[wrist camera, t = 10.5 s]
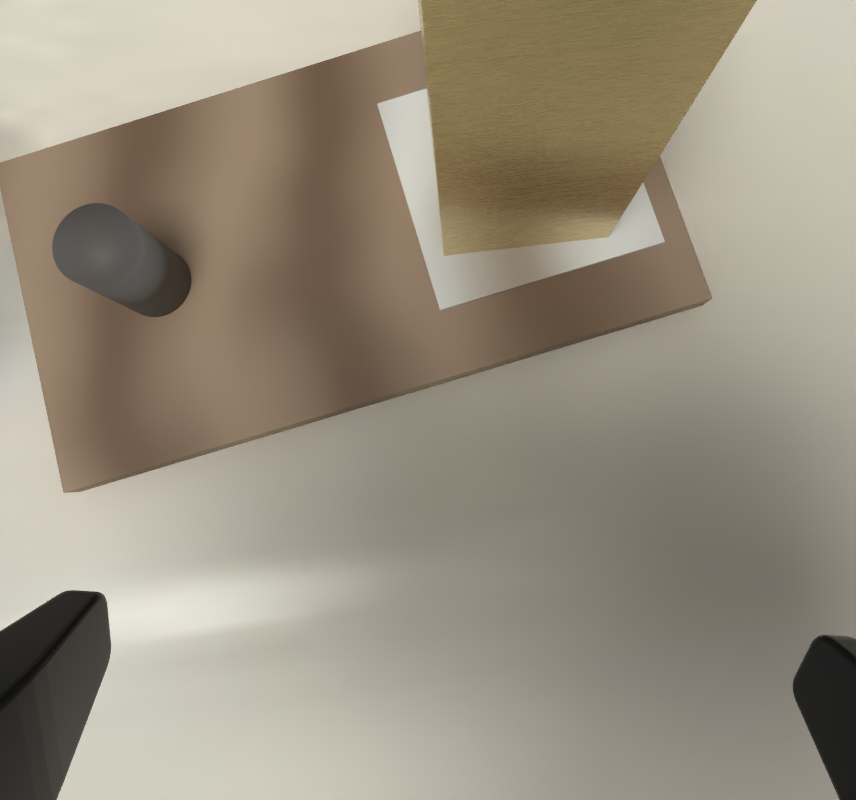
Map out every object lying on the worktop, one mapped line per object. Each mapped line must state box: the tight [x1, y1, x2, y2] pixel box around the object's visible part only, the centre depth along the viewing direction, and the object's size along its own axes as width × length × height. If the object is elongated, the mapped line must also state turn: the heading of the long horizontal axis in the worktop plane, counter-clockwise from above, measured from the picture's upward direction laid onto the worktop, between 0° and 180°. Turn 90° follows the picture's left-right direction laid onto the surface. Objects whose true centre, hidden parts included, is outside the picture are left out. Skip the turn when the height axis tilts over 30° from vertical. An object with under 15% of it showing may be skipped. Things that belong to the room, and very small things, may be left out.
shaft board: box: [0, 31, 712, 493], centre depth 19 cm, size 22×12×4 cm, turn 106°
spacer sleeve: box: [418, 0, 757, 256], centre depth 14 cm, size 5×5×12 cm
